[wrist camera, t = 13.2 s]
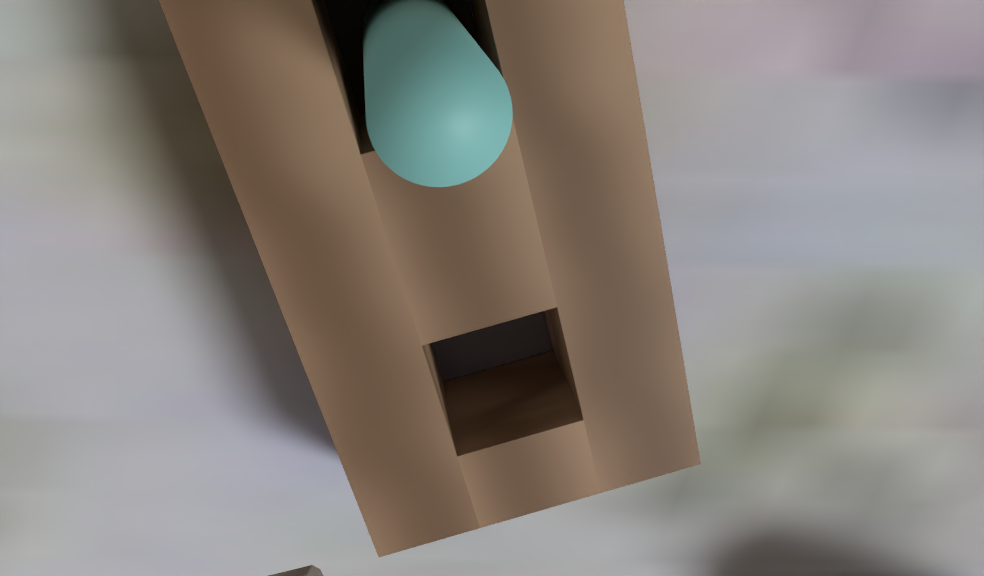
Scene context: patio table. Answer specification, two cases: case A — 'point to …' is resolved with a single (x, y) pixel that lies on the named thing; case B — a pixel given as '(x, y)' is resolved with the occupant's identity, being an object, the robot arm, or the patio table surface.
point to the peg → (431, 94)
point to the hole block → (458, 263)
